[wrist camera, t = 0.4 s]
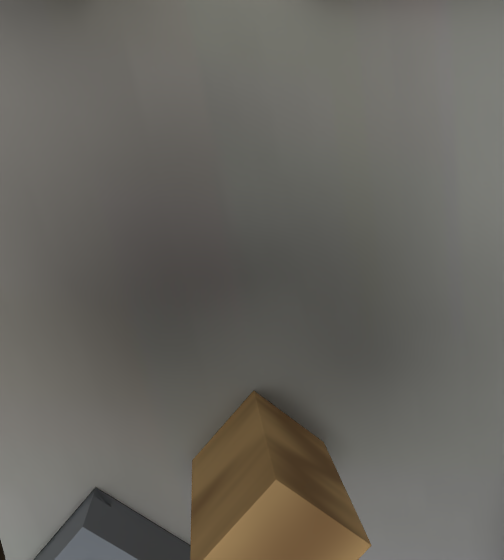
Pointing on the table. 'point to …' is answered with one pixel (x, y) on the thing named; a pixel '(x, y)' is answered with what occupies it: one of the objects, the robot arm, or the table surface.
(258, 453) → the block
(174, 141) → the table surface
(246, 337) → the table surface
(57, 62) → the table surface
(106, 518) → the tray
